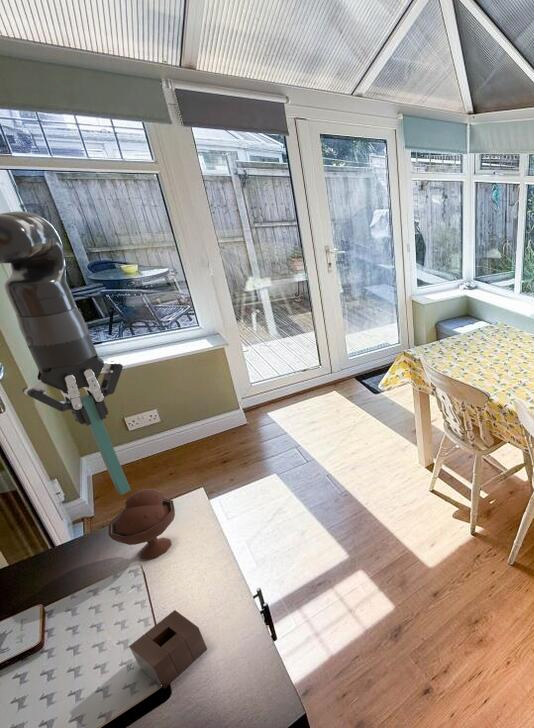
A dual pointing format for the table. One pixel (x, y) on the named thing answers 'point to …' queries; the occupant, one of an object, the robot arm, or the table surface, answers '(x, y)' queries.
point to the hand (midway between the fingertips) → (93, 420)
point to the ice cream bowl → (144, 522)
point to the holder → (168, 648)
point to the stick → (105, 446)
